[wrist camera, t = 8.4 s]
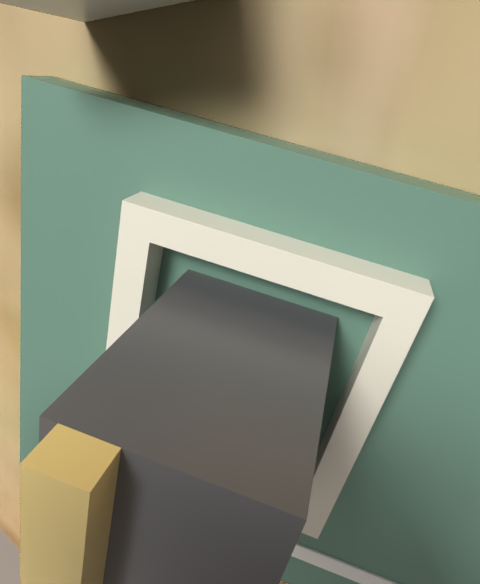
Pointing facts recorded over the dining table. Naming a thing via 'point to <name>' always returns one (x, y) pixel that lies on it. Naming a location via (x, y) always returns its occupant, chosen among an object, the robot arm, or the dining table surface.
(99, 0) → the plug
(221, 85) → the dining table surface
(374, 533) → the board
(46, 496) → the plug
